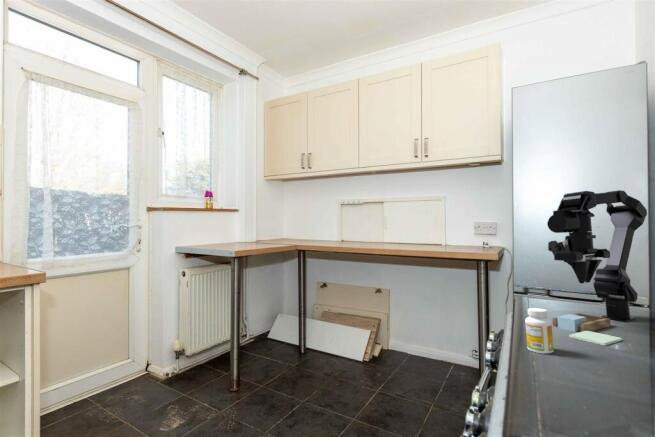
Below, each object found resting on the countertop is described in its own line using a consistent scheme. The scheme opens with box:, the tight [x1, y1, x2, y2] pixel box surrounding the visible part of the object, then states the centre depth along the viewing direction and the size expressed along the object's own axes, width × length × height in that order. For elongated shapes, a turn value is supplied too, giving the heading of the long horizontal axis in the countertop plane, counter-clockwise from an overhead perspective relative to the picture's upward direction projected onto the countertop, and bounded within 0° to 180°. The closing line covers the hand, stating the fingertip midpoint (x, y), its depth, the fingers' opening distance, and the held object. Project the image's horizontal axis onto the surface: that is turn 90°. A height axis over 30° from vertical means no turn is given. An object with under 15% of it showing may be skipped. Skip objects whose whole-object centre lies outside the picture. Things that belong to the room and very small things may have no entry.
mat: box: [568, 331, 623, 346], centre depth 85 cm, size 8×8×1 cm
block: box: [556, 313, 586, 333], centre depth 95 cm, size 6×4×4 cm
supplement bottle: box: [524, 307, 555, 355], centre depth 78 cm, size 5×5×10 cm
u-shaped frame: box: [552, 312, 612, 332], centre depth 96 cm, size 13×8×2 cm, turn 114°
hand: (584, 282), depth 99 cm, fingers open, 3 cm apart
